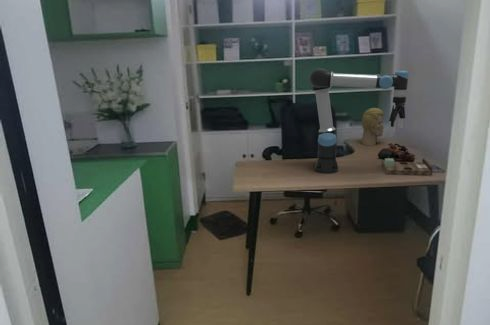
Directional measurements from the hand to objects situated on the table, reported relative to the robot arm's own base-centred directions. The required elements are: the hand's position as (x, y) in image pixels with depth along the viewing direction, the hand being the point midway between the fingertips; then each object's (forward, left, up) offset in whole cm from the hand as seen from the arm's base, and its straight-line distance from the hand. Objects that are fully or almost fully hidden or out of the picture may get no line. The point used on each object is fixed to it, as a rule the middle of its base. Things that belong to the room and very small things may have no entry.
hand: (396, 130), depth 230 cm
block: (-4, -7, -22) cm, 23 cm away
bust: (-5, +67, -25) cm, 71 cm away
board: (+6, -7, -25) cm, 26 cm away
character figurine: (+4, +14, -25) cm, 29 cm away
